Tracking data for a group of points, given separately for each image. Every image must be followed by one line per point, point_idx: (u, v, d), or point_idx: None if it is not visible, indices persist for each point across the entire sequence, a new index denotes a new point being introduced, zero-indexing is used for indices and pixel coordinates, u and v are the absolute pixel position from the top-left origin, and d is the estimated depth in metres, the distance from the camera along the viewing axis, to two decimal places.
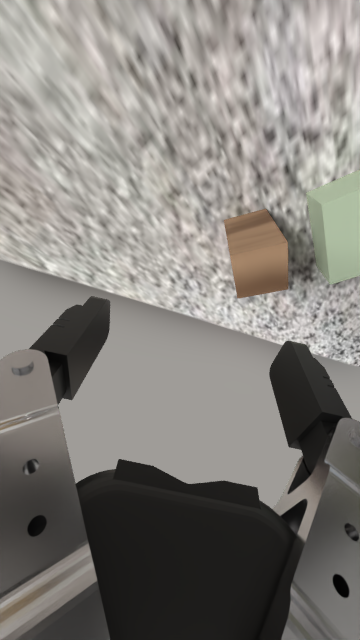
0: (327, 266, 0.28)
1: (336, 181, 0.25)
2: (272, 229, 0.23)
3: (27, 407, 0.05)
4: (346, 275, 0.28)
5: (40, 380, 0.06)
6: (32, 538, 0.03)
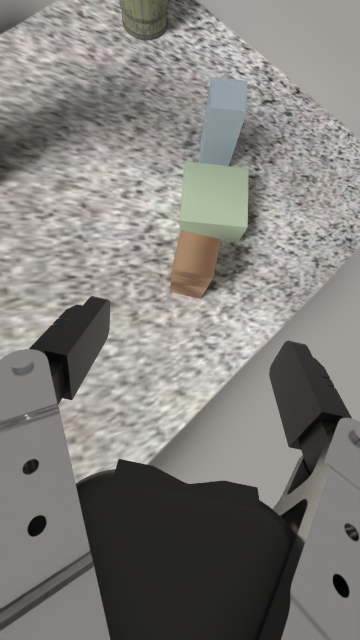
0: (230, 226, 0.35)
1: None
2: None
3: (27, 407, 0.05)
4: (243, 216, 0.35)
5: (40, 380, 0.06)
6: (32, 538, 0.03)
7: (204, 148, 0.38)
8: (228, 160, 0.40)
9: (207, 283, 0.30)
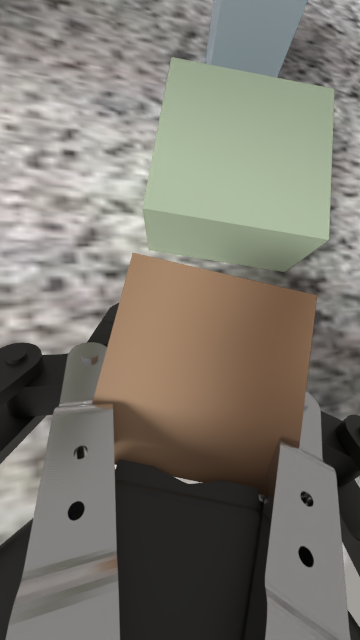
0: (280, 235, 0.13)
1: None
2: None
3: (87, 395, 0.06)
4: (319, 208, 0.13)
5: None
6: (70, 521, 0.04)
7: (217, 42, 0.16)
8: None
9: None
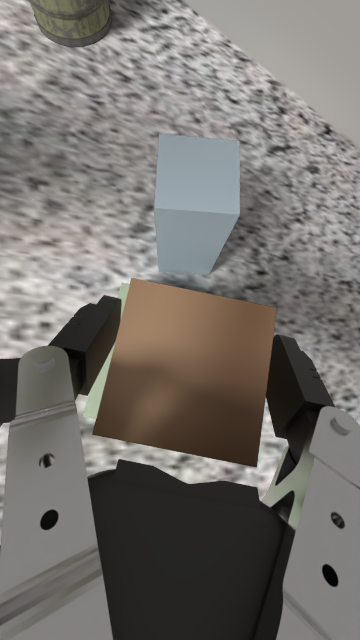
0: None
1: None
2: None
3: (46, 402, 0.06)
4: None
5: (62, 375, 0.06)
6: (44, 531, 0.03)
7: (160, 255, 0.20)
8: (209, 267, 0.22)
9: None
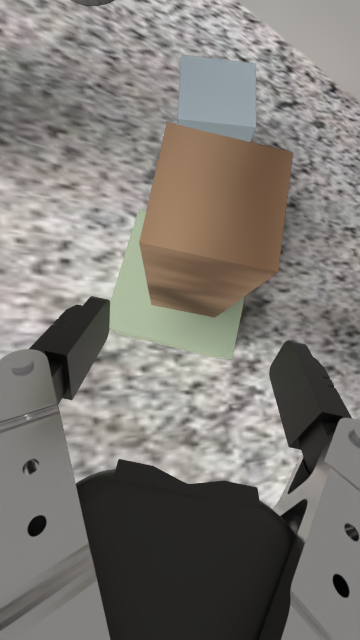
0: (199, 350, 0.18)
1: None
2: None
3: (27, 407, 0.05)
4: (229, 334, 0.18)
5: (40, 380, 0.06)
6: (32, 538, 0.03)
7: None
8: None
9: (246, 289, 0.11)
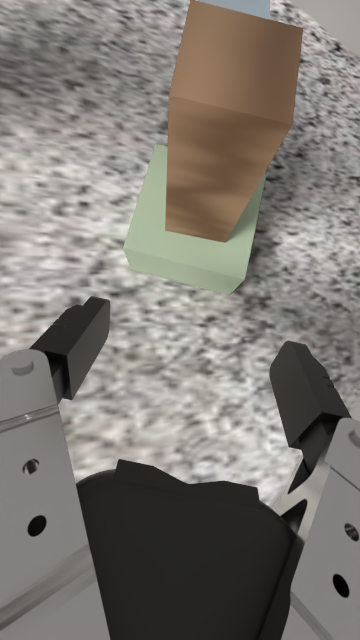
0: (213, 272, 0.19)
1: None
2: None
3: (27, 407, 0.05)
4: (241, 257, 0.19)
5: (40, 380, 0.06)
6: (32, 538, 0.03)
7: None
8: None
9: (260, 169, 0.12)
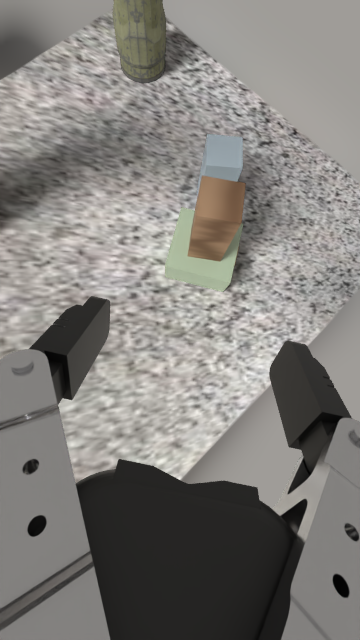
0: (213, 279, 0.35)
1: None
2: None
3: (27, 407, 0.05)
4: (228, 271, 0.35)
5: (40, 380, 0.06)
6: (32, 538, 0.03)
7: None
8: None
9: (232, 234, 0.28)
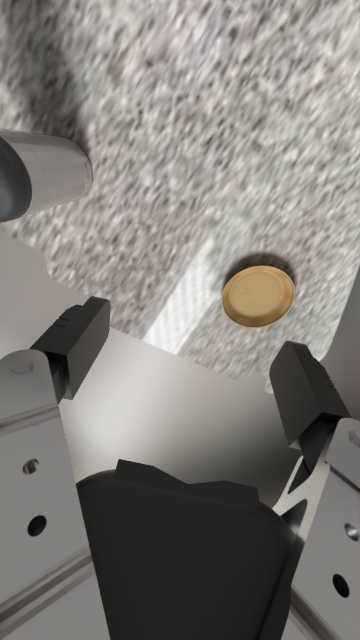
0: None
1: None
2: None
3: (27, 407, 0.05)
4: None
5: (40, 380, 0.06)
6: (32, 538, 0.03)
7: None
8: None
9: None
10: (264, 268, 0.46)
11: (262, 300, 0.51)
